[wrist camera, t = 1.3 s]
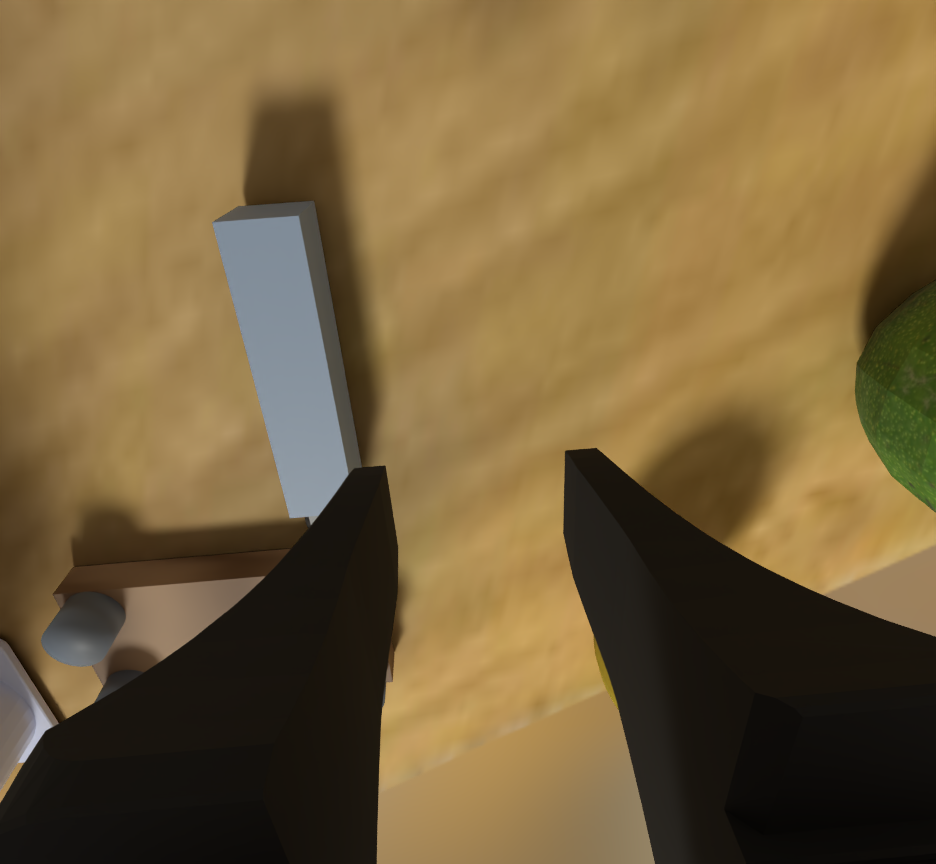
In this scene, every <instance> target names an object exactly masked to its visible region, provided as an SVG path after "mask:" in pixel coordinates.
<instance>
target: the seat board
mask: <svg viewBox="0 0 936 864" xmlns="http://www.w3.org/2000/svg"><path fill="white" fill-rule="evenodd" d="M289 551H290V549H280V550H268V551H256V552H245V553H233V554H221V555H209V556H198V557H186V558H174V559H162V560H151V561H139V562H127V563H116V564H104V565H92V566H80V567H73V568H72V569H71V571H70V572H69V573H68V575H67V576H66V577H65V579H64V580H63V581H62V583H61V584H60V585H59V587H58V588H57V589H56V591H55V592H54V593H53V596H54V598H55V600H56V602H57V603H58V605H59V607H60V611H59V612H58V614H57V615H56V616H55V618H54V619H53V621H52V622H51V623H50V625H49V626H48V628H47V629H46V631H45V632H44V633H43V635H42V638H41V643H42V646H43V648H44V650H45V651H46V652H47V653H48V654H49V655H50V656H51V657H53V658H54V659H56V660H57V661H60V662H62V663H64V664H68V665H72V666H91V665H92V667H93V668H94V670H95V672H96V674H97V676H98V677H99V679H100V681H101V683H102V685H103V688H102V690H101V691H100V693H99V695H98V697H97V699H96V701H95V702H97V701H98V700H100V699H102V698H104V697H105V696H107V695H109V694H110V693H112V692H114V691H116V690H117V689H119V688H120V687H122V686H124V685H125V684H127V683H128V682H130V681H132V680H133V679H135V678H136V677H138V676H139V675H141V674H142V673H144V672H145V671H147V670H148V669H150V668H151V667H153V666H154V665H156V664H157V663H159V662H160V661H162V660H163V659H165V658H166V657H168V656H169V655H170V654H172V653H173V652H175V651H176V650H178V649H179V648H180V647H182V646H183V645H185V644H186V643H187V642H189V641H190V640H191V639H193V638H194V637H195V636H196V635H198V634H199V633H200V632H202V631H203V630H204V629H205V628H207V627H208V626H209V625H210V624H212V623H213V622H214V621H215V620H217V619H218V618H219V617H220V616H222V615H223V614H224V613H225V612H227V611H228V610H229V609H230V608H232V607H233V606H234V605H235V604H236V603H237V602H239V601H240V600H241V599H242V598H243V597H244V596H245V595H246V594H247V593H249V592H250V591H251V590H252V589H253V588H254V587H255V586H256V585H257V584H258V583H259V582H260V581H261V580H263V579H264V578H265V576H266V575H267V574H268V573H269V572H270V571H271V570H272V569H273V568H274V567H275V566H276V565H277V564H278V563H279V562H280V561H281V560H282V558H283V557H284V556H285V555H286V554H287V553H288V552H289ZM393 667H394V649H393V643H392V638H391V644H390V651H389V659H388V666H387V673H386V680H385V687H384V694H383V704H382V707H383V706H384V703H385V691H386V682H393ZM95 702H94V703H95Z"/></svg>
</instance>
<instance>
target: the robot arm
mask: <svg viewBox="0 0 936 864" xmlns="http://www.w3.org/2000/svg"><path fill="white" fill-rule="evenodd" d="M563 534H564V538H565V543H566V548H567V552H568V557H569V561H570V566H571V570H572V574H573V578H574V581H575V584H576V587H577V590H578V592H579V595H580V598H581V601H582V604H583V606H584V609H585V612H586V615H587V618H588V620H589V623H590V626H591V628H592V631H593V634H594V637H595V639H596V642H597V645H598V648H599V650H600V653H601V656H602V659H603V661H604V664H605V667H606V670H607V672H608V675H609V678H610V682H611V685H612V688H613V691H614V694H615V697H616V701H617V705H618V709H619V713H620V716H621V721H622V724H623V728H624V732H625V737H626V740H627V744H628V748H629V753H630V757H631V761H632V765H633V769H634V774H635V777H636V782H637V786H638V790H639V795H640V799H641V803H642V807H643V811H644V816H645V821H646V825H647V830H648V834H649V838H650V843H651V847H652V852H653V856H654V861H655V864H936V637H935V636H932V635H929V634H926V633H923V632H920V631H917V630H914V629H910V628H907V627H904V626H901V625H898V624H895V623H892V622H889V621H886V620H884V619H881V618H878V617H875V616H873V615H871V614H868V613H865V612H863V611H860V610H858V609H855V608H853V607H850V606H848V605H845V604H842V603H840V602H837V601H835V600H833V599H831V598H828V597H826V596H824V595H821V594H819V593H817V592H814V591H812V590H810V589H808V588H805V587H803V586H801V585H799V584H797V583H795V582H793V581H791V580H789V579H787V578H785V577H782V576H780V575H778V574H776V573H774V572H772V571H770V570H768V569H766V568H764V567H762V566H760V565H759V564H757V563H755V562H753V561H751V560H749V559H747V558H746V557H744V556H742V555H741V554H739V553H737V552H735V551H734V550H732V549H730V548H728V547H727V546H725V545H723V544H722V543H720V542H718V541H717V540H715V539H713V538H712V537H710V536H709V535H707V534H705V533H704V532H702V531H701V530H699V529H698V528H697V527H695V526H694V525H692V524H691V523H689V522H688V521H686V520H685V519H684V518H682V517H681V516H679V515H678V514H676V513H675V512H674V511H672V510H671V509H670V508H668V507H667V506H666V505H664V504H663V503H662V502H660V501H659V500H658V499H656V498H655V497H654V496H653V495H651V494H650V493H649V492H648V491H646V490H645V489H644V488H643V487H641V486H640V485H639V484H638V483H637V482H635V481H634V480H633V479H632V478H631V477H629V476H628V475H627V474H626V473H625V472H624V471H622V470H621V469H620V468H619V467H618V466H617V465H616V464H614V463H613V462H612V461H611V460H610V459H609V458H607V457H606V456H605V455H604V454H603V453H602V452H600V451H599V450H598V449H597V448H591V449H579V450H567V451H565V482H564V530H563ZM397 592H398V543H397V537H396V530H395V524H394V518H393V511H392V505H391V498H390V492H389V485H388V479H387V473H386V466H374V467H362V468H354V469H353V470H352V471H351V472H350V473H349V475H348V476H347V477H346V479H345V480H344V482H343V483H342V484H341V486H340V487H339V489H338V490H337V492H336V493H335V494H334V496H333V497H332V498H331V500H330V501H329V502H328V504H327V505H326V507H325V508H324V509H323V511H322V512H321V513H320V514H319V516H318V517H317V518H316V519H315V521H314V522H313V523H312V524H311V526H310V527H309V528H308V530H307V531H306V532H305V533H304V534H303V536H302V537H301V538H300V539H299V540H298V542H297V543H296V544H295V545H294V546H293V547H292V548H291V549H290V551H289V552H288V553H287V554H286V555H285V556H284V557H283V558H282V560H281V561H280V562H279V563H278V564H277V565H276V566H275V567H274V568H273V569H272V570H271V571H270V572H269V573H268V574H267V575H266V576H265V578H264V579H263V580H261V581H260V582H259V583H258V584H257V585H256V586H255V587H254V588H253V589H252V590H251V591H250V592H249V593H247V594H246V595H245V596H244V597H243V598H242V599H241V600H240V601H239V602H237V603H236V604H235V605H234V606H233V607H232V608H230V609H229V610H228V611H227V612H225V613H224V614H223V615H222V616H220V617H219V618H218V619H217V620H215V621H214V622H213V623H212V624H210V625H209V626H208V627H207V628H205V629H204V630H203V631H202V632H200V633H199V634H198V635H196V636H195V637H194V638H193V639H191V640H190V641H189V642H187V643H186V644H185V645H183V646H182V647H180V648H179V649H178V650H176V651H175V652H173V653H172V654H170V655H169V656H168V657H166V658H165V659H163V660H162V661H160V662H159V663H157V664H156V665H154V666H153V667H151V668H150V669H148V670H147V671H145V672H144V673H142V674H141V675H139V676H138V677H136V678H135V679H133V680H132V681H130V682H128V683H127V684H125V685H124V686H122V687H120V688H119V689H117V690H116V691H114V692H112V693H110V694H109V695H107V696H105V697H104V698H102V699H100V700H98V701H97V702H95V703H93V704H92V705H90V706H88V707H86V708H85V709H83V710H81V711H80V712H78V713H76V714H74V715H73V716H71V717H69V718H68V719H66V720H64V721H62V722H61V723H58V721H57V720H56V718H55V717H54V715H53V713H52V712H51V710H50V709H49V707H48V706H47V704H46V702H45V701H44V699H43V698H42V696H41V695H40V693H39V692H38V690H37V688H36V687H35V685H34V684H33V682H32V681H31V679H30V677H29V676H28V674H27V673H26V671H25V670H24V668H23V666H22V665H21V663H20V662H19V660H18V659H17V657H16V656H15V654H14V652H13V651H12V649H11V648H10V646H9V645H8V643H7V642H6V641H4V640H2V639H0V791H1V789H2V788H3V786H4V784H5V783H6V781H7V780H8V778H9V776H10V775H11V773H12V771H13V770H14V768H15V766H16V765H17V763H23V762H25V763H24V764H23V766H22V768H21V769H20V771H19V773H18V774H17V776H16V778H15V779H14V781H13V783H12V784H11V786H10V788H9V790H8V791H7V793H6V795H5V796H4V798H3V800H2V801H1V803H0V864H377V820H378V819H377V818H378V786H379V758H380V732H381V715H382V704H383V694H384V687H385V680H386V673H387V666H388V659H389V651H390V644H391V637H392V630H393V623H394V615H395V608H396V600H397Z"/></svg>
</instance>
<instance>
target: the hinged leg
mask: <svg viewBox="0 0 936 864" xmlns="http://www.w3.org/2000/svg"><path fill="white" fill-rule="evenodd" d="M212 223H213V227H214V231H215V235H216V238H217V242H218V246H219V250H220V254H221V257H222V261H223V265H224V269H225V273H226V276H227V280H228V284H229V288H230V292H231V295H232V299H233V303H234V307H235V311H236V314H237V318H238V322H239V326H240V330H241V334H242V337H243V341H244V345H245V349H246V353H247V356H248V360H249V364H250V368H251V372H252V375H253V379H254V383H255V387H256V391H257V394H258V398H259V402H260V406H261V410H262V413H263V417H264V421H265V425H266V429H267V432H268V436H269V440H270V444H271V448H272V451H273V455H274V459H275V463H276V467H277V470H278V474H279V478H280V482H281V486H282V489H283V493H284V497H285V501H286V505H287V508H288V512H289V516H290V518H298V517H309V520H310V524H312V523H313V522H314V521H315V519H316V518H317V517H318V516H319V514H320V513H321V512H322V511H323V509H324V508H325V507H326V505H327V504H328V502H329V501H330V500H331V498H332V497H333V496H334V494H335V493H336V492H337V490H338V489H339V487H340V486H341V484H342V483H343V482H344V480H345V479H346V477H347V476H348V475H349V473H350V472H351V471H352V470H353V469H354V468H362V465H361V460H360V454H359V448H358V443H357V437H356V432H355V426H354V420H353V415H352V409H351V404H350V398H349V393H348V387H347V381H346V376H345V370H344V365H343V359H342V353H341V348H340V342H339V337H338V331H337V326H336V320H335V314H334V309H333V303H332V298H331V292H330V286H329V281H328V275H327V270H326V264H325V259H324V253H323V247H322V242H321V236H320V231H319V225H318V219H317V214H316V208H315V203H314V201H303V202H290V203H277V204H263V205H250V206H238V207H236V208H235V209H233V210H231V211H230V212H228V213H227V214H225V215H223V216H222V217H220V218H218V219H217V220H215V221H214V222H212Z"/></svg>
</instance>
